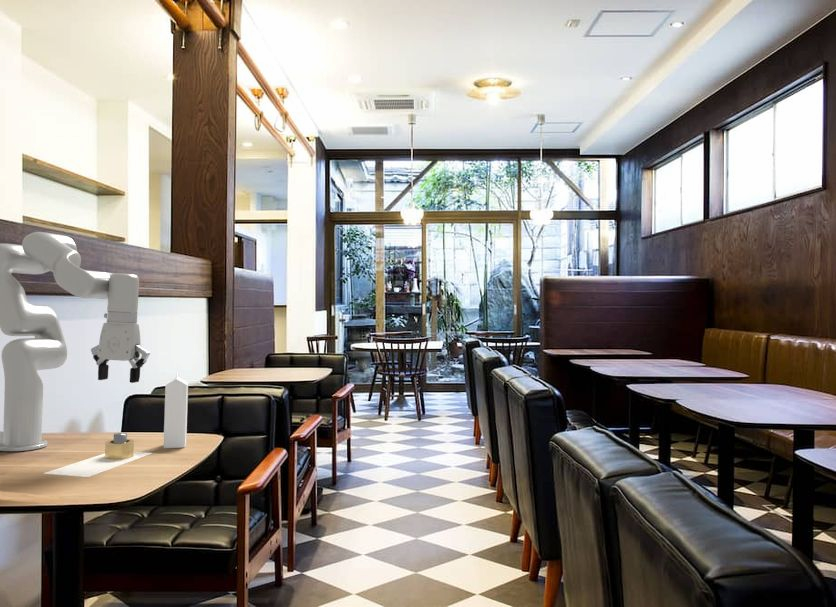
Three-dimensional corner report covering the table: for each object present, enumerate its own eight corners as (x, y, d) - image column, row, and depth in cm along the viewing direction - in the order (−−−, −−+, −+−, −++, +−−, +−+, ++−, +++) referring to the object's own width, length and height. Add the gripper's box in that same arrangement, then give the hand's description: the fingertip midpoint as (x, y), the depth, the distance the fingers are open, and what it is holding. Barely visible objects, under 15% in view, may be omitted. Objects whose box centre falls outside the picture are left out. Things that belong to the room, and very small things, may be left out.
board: (42, 479, 148) (43, 473, 148) (113, 455, 174) (113, 450, 174) (87, 483, 146) (88, 476, 146) (152, 458, 172) (153, 452, 172)
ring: (99, 458, 164) (100, 443, 164) (116, 452, 171) (116, 438, 171) (122, 460, 163) (123, 444, 163) (138, 454, 170) (139, 439, 170)
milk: (163, 448, 185) (165, 374, 185) (165, 444, 190) (167, 372, 191) (185, 447, 186) (186, 373, 186) (186, 443, 192) (188, 371, 192)
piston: (110, 457, 166) (111, 434, 166) (118, 454, 169) (118, 432, 169) (121, 458, 165) (121, 435, 165) (128, 455, 168) (129, 433, 168)
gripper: (84, 316, 169) (80, 380, 169) (141, 320, 165) (138, 384, 165) (103, 316, 176) (100, 377, 176) (158, 320, 173) (155, 381, 173)
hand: (118, 380), depth 171 cm, fingers open, 9 cm apart
